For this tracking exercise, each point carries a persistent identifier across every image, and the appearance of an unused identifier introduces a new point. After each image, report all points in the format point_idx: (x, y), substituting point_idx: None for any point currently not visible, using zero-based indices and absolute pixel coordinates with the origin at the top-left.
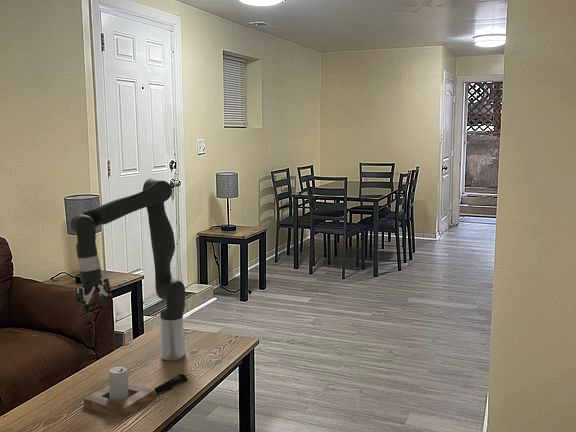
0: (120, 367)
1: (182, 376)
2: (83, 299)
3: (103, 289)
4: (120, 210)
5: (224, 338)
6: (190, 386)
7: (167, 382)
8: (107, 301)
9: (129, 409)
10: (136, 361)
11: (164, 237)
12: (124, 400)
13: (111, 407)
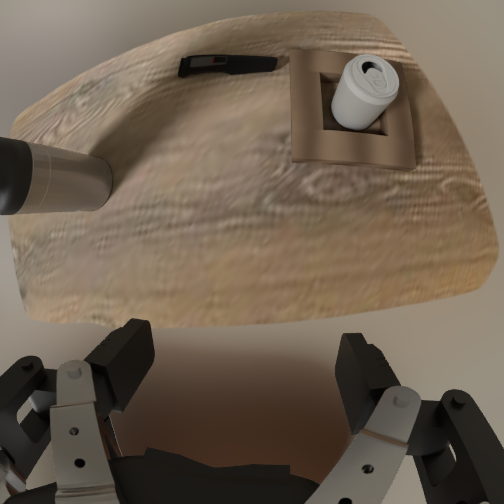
0: (358, 77)
1: (190, 56)
2: (460, 427)
3: (57, 430)
4: None
5: None
6: (205, 40)
7: (235, 57)
8: (107, 339)
9: None
10: (146, 241)
11: None
12: None
13: (405, 85)
